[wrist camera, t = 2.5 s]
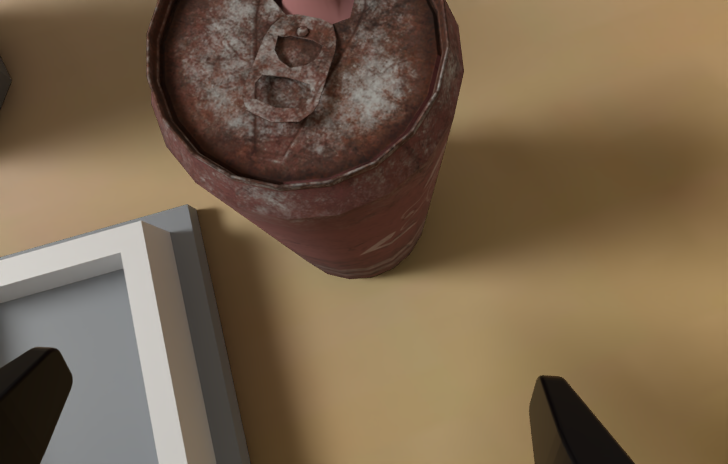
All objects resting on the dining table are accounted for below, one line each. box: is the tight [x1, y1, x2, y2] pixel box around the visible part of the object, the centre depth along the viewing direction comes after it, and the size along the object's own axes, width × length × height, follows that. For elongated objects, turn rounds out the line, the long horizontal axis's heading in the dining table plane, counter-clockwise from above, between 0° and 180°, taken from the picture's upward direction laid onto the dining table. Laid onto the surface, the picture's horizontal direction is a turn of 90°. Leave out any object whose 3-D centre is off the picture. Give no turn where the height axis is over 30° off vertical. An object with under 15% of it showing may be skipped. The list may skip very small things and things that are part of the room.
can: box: [147, 0, 464, 279], centre depth 16 cm, size 6×6×14 cm
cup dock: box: [0, 204, 251, 464], centre depth 20 cm, size 13×13×4 cm
